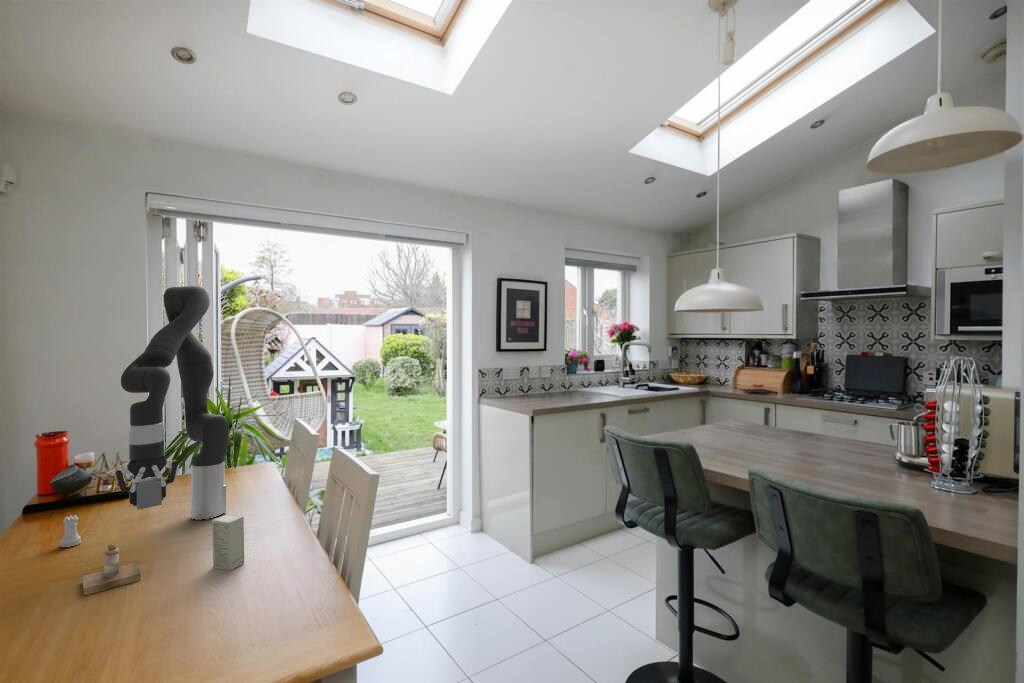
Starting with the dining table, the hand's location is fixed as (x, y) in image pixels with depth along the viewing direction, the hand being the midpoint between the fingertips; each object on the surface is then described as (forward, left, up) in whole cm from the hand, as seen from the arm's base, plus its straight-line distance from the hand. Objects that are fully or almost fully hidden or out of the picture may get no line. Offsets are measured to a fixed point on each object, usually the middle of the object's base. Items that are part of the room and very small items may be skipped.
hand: (147, 502), depth 128 cm
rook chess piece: (+15, -20, -14) cm, 28 cm away
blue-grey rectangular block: (0, 0, -1) cm, 1 cm away
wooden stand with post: (+9, +14, -14) cm, 21 cm away
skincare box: (-13, +24, -14) cm, 31 cm away
